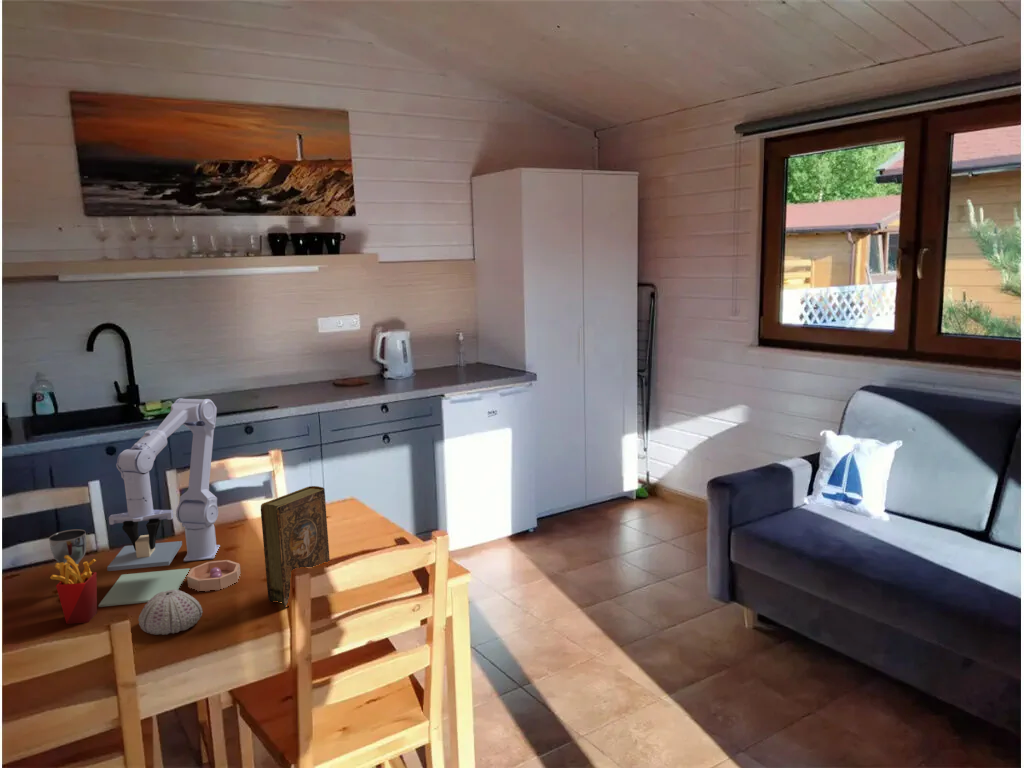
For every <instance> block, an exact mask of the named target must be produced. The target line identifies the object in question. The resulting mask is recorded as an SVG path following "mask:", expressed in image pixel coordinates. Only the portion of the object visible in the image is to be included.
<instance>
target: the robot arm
mask: <svg viewBox="0 0 1024 768" xmlns="http://www.w3.org/2000/svg"><path fill="white" fill-rule="evenodd" d="M217 410H218V408H217V406H216V405H215V403H214V401H212V399H210V398H205V399H203V398H201V399H200V398H184V397H180V398H178V399H175V401H174V403H172V404H171V406H170V412H169V413H168V414H167V415H166V417H165V418H163V421H162V422H160V424H159V425H158V427H156V428H155V429H149V430H146V431H145V432H144V435H142V436H141V438H139V440H138V441H137V442H135V443H134V444H133V445H132V446H131V447H130V448H128V449H124V450H123V451H122V452H120V453H119V454H118V456H117V461H116V463H115V466H116V469H117V470H118V471H119V472H120V476H121V479H122V480H123V483H124V491H125V498H126V507H127V508H126V509H127V511H126V512H121V513H117V514H116V513H115V514H111V515H109V516H108V523H109V525H110V526H113V525H115V524H122V527H121V528H122V531H123V532H124V533H125V534H126V535H127V537H128V539H130V542H131V544H132V545H133V546H134V549H135V551H136V547H135V542H136V541H137V539H138V538H139V537H140V536H139V522H147V521H148V522H147V523H146V524H145V527H146V529H147V533H148V534H147V535H149V544H150V549H154V547H155V543H157V542H156V540H157V535H158V531H159V528H160V524H161V522H162V520H169V521H170V520H173V518H174V510H173V509H154V504H153V495H152V487H151V478H150V471H151V470H152V469H153V466H154V463H155V462H154V461H155V460H156V457H157V456H158V455H159V454H160V453H161V452H162V451H163V449H164V448H165V447H167V445H168V438H169V437H170V436H171V435H172V434H173V433H175V432H176V431H177V430H178V429H179V428H180V427H181V426H185V427H186V428H187V429H189V430H190V432H191V433H192V443H191V452H190V453H191V454H190V466H189V474H188V475H189V478H188V489H187V490H186V491H185V492H184V493H183V494H181V495H180V496H179V502H178V505H177V507H176V510H175V511H176V512H175V513H176V514H175V516H176V520H177V521H178V523H180V524H181V527H183V528H184V532H185V534H184V535H185V541H186V542H185V543H186V552H187V553H186V555H185V557H184V558H183V562H193V561H202V560H213V559H215V557H216V556H215V555H217V554H216V553H218V552H219V550H218V549H220V548H219V547H221V545H220V544H217V538H216V537H217V536H216V527H215V525H214V524H215V523H216V521H217V520H218V517H219V509H218V508H219V506H218V497H217V496H215V494H214V493H212V492H211V491H210V478H211V467H212V456H213V446H214V433H215V429H216V424H217V423H216V420H217ZM217 551H218V552H217Z"/></svg>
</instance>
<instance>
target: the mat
mask: <svg viewBox="0 0 1024 768" xmlns="http://www.w3.org/2000/svg"><path fill="white" fill-rule="evenodd" d="M189 570H191V568H177V569H168V570H166V569H165V570H157V571H147V572H137V573H128V574H127V573H125V574H121V575H120V576H119V578H118V579H117V580H116V581H115V583H114V584H113V585H112V587H111V588H110V589H109V591H108V592H107V593H106V594H105V596H104V597H103V599H102V600H101V601H100V602H99V604H97V607H98V608H103V607H104V608H105V607H113V606H123V605H133V604H142V603H143V604H144V603H148V601H149V600H150V599H151V598H152V597H154V596H155V595H156V594H158V593H160V592H166V591H169V590H173V589H176V590H179V591H180V589H181V587H182V585H183V584H184V582H183V581H185V580H186V578H187V576H186V575H187V574H188V572H190V571H189ZM185 577H186V578H185ZM184 579H185V580H184ZM181 584H182V585H181ZM180 586H181V587H180ZM179 588H180V589H179Z"/></svg>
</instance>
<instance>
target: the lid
mask: <svg viewBox="0 0 1024 768" xmlns="http://www.w3.org/2000/svg"><path fill="white" fill-rule="evenodd" d="M182 546H183V541H182V540H180V541H178V540H177V541H167V542H166V541H165V542H155V547H154V549H150V544H149V534H144V535H143V534H142V535H141V534H140V536H139V538H138V539H137V541H136V542H135V547H136V551H135V549H134V546H133V544H132V545H124V546H123V547H122V548H121V550H120V551H118V553H117V554H116V556H115V557H114V558H113V559H112V560H111V562H110V563H109V565H107V567H106V568H107V569H106V570H107V572H111V571H113V572H114V571H121V570H131V569H132V570H134V569H143V568H144V569H145V568H153V567H165V566H170V564H171V563H172V562H173V560H174V558H175V556H176V555H177V554H178V552H179V550H180V549H181V547H182Z"/></svg>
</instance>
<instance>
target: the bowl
mask: <svg viewBox="0 0 1024 768" xmlns="http://www.w3.org/2000/svg"><path fill="white" fill-rule="evenodd" d="M240 574H241V564H240V563H239V562H235V561H233V560H230V559H224V560H214V561H207V562H204V563H202V564H199V565H197V566H194V567H192V568H190V571H189V573H188V575H187V576H186V579H187V580H186V581H187V588H188V587H190V588H189V589H191V588H192V589H191V590H193V589H195V590H194V591H196V590H197V592H199V591H205V592H211V591H210V590H215V591H221V590H220V589H222V590H223V588H224V589H226V588H228V586H229V587H231V586H233V585H235V584H234V583H236V582H237V583H238V582H239V581H238V579H239V580H240V578H239V576H240V577H241V575H240ZM237 583H236V584H237ZM232 584H233V585H232ZM230 585H231V586H230Z"/></svg>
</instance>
